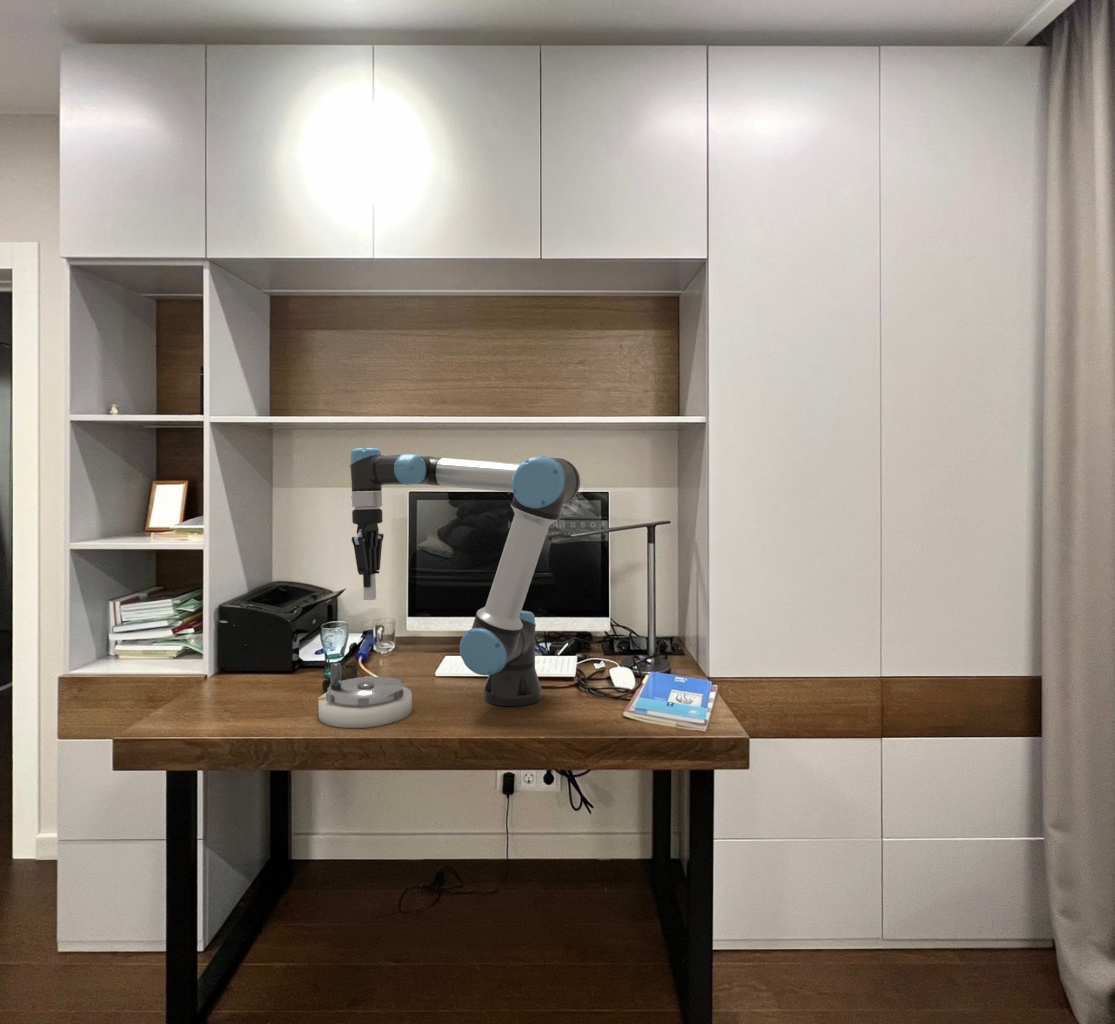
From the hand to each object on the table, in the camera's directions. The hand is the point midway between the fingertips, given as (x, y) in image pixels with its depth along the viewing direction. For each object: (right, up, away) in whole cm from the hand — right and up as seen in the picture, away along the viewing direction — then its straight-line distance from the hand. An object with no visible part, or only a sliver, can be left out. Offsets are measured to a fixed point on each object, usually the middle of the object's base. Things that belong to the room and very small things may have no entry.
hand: (369, 599), depth 182 cm
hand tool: (-12, -26, +16) cm, 32 cm away
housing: (+2, -27, -10) cm, 28 cm away
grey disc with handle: (+2, -22, -10) cm, 24 cm away
